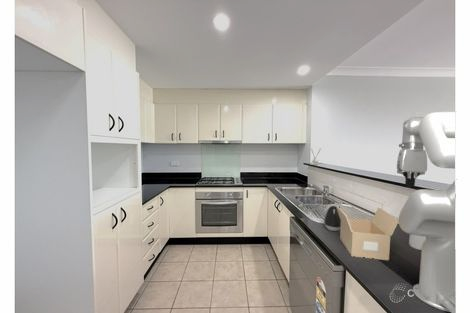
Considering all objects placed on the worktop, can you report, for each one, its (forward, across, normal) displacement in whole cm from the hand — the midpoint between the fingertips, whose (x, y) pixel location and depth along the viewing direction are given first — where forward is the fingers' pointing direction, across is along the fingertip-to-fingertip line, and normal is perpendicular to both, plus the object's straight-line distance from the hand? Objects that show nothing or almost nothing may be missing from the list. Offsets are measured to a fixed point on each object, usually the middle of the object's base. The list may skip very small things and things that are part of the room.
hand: (409, 186), depth 96 cm
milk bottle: (+35, +15, +16) cm, 41 cm away
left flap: (+19, -25, +8) cm, 33 cm away
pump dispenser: (+35, -24, +30) cm, 52 cm away
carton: (+35, -16, +8) cm, 39 cm away
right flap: (+19, -6, +8) cm, 22 cm away
